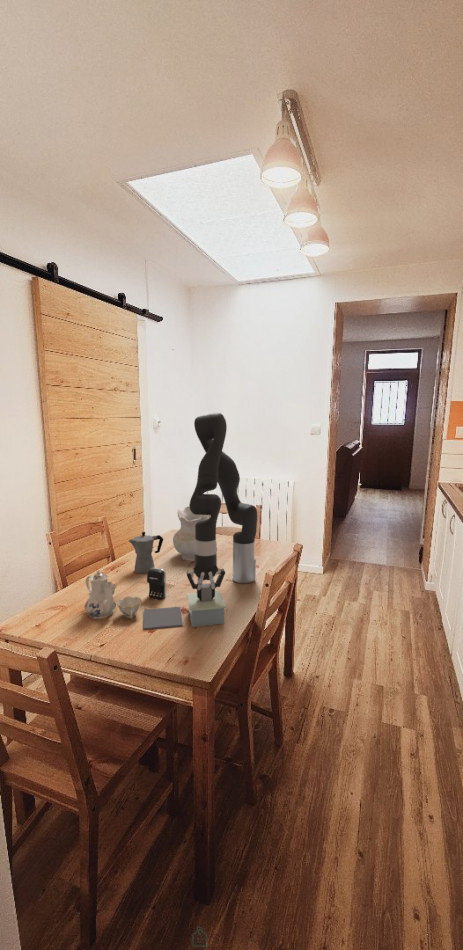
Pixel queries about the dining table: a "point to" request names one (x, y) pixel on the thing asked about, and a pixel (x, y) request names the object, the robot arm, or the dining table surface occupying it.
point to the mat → (162, 618)
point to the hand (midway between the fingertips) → (205, 598)
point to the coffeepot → (145, 552)
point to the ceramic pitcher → (187, 533)
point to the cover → (206, 599)
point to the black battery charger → (157, 583)
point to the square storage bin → (206, 617)
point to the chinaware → (107, 599)
